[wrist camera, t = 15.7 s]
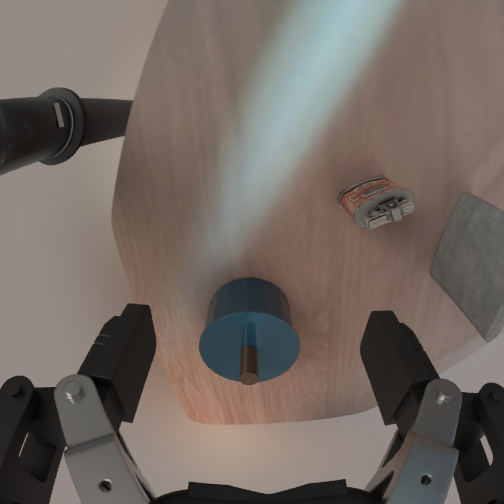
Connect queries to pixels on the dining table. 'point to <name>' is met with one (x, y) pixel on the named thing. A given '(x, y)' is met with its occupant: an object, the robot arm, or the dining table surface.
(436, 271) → the hip flask
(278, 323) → the pot lid
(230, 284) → the pot
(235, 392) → the dining table surface
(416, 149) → the dining table surface
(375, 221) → the lighter
